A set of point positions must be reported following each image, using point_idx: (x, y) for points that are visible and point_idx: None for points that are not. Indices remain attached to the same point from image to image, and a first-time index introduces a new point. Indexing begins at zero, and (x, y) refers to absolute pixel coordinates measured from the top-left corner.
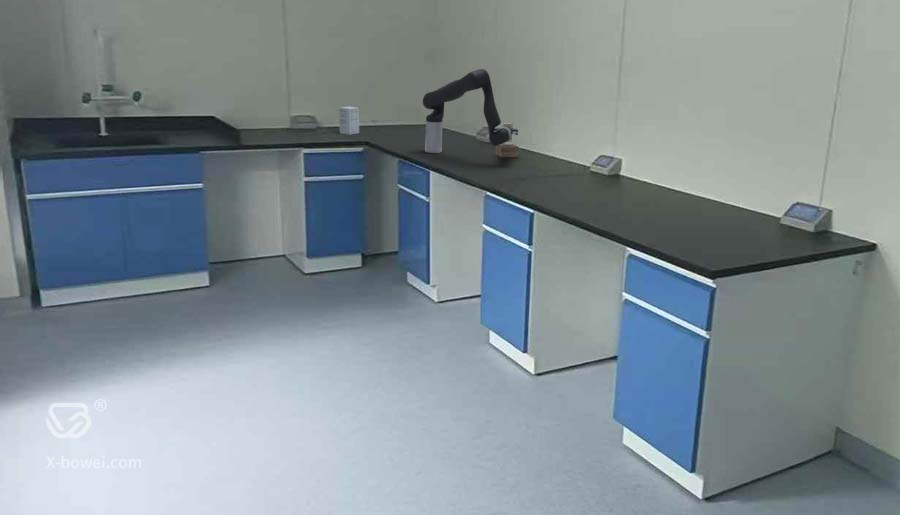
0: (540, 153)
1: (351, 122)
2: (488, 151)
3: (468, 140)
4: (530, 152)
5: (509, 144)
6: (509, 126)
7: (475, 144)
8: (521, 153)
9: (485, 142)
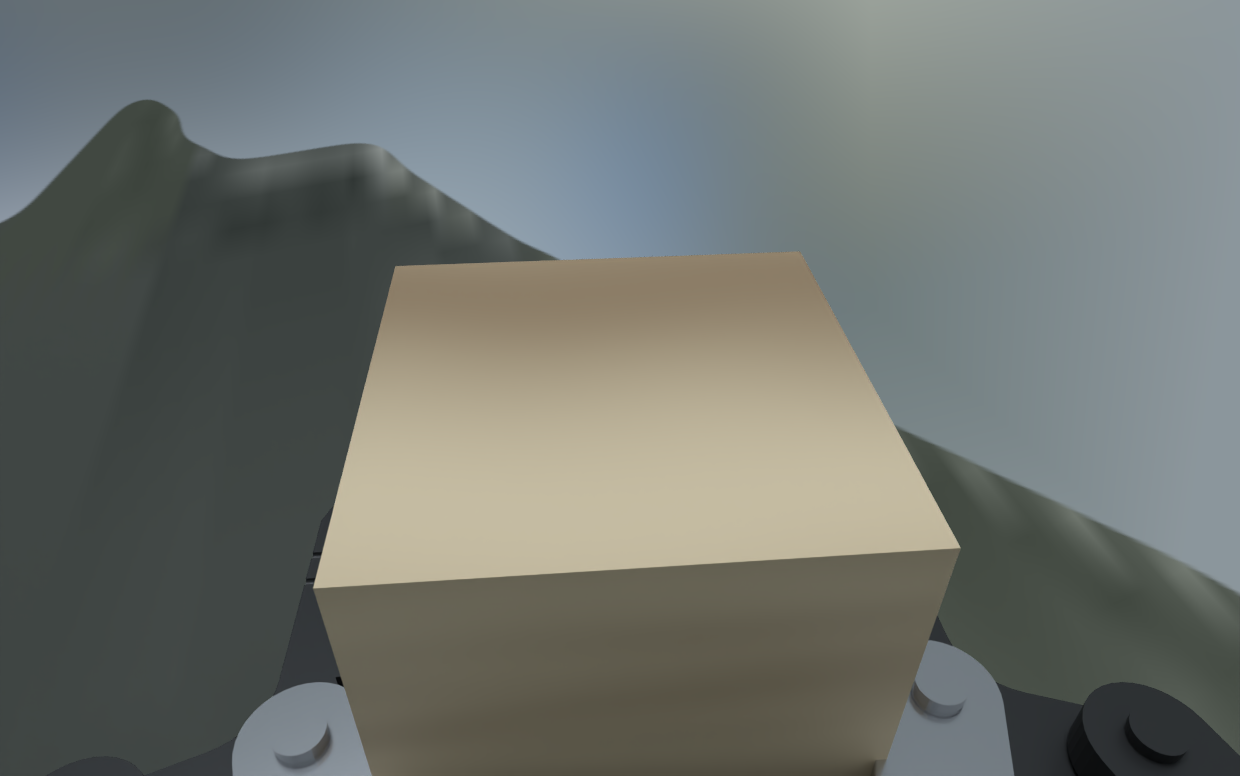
0: (1052, 506)
1: None
2: (197, 649)
3: (74, 170)
4: None
5: None
6: (784, 680)
7: (98, 281)
8: None
9: (239, 193)
